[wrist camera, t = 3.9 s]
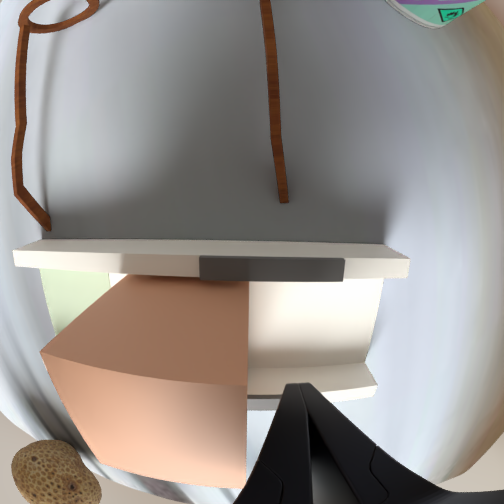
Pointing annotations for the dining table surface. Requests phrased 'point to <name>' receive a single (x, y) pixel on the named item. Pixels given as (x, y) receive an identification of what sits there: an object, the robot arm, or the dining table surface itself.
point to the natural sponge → (54, 475)
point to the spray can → (433, 10)
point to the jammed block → (160, 378)
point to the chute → (260, 299)
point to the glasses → (31, 27)
